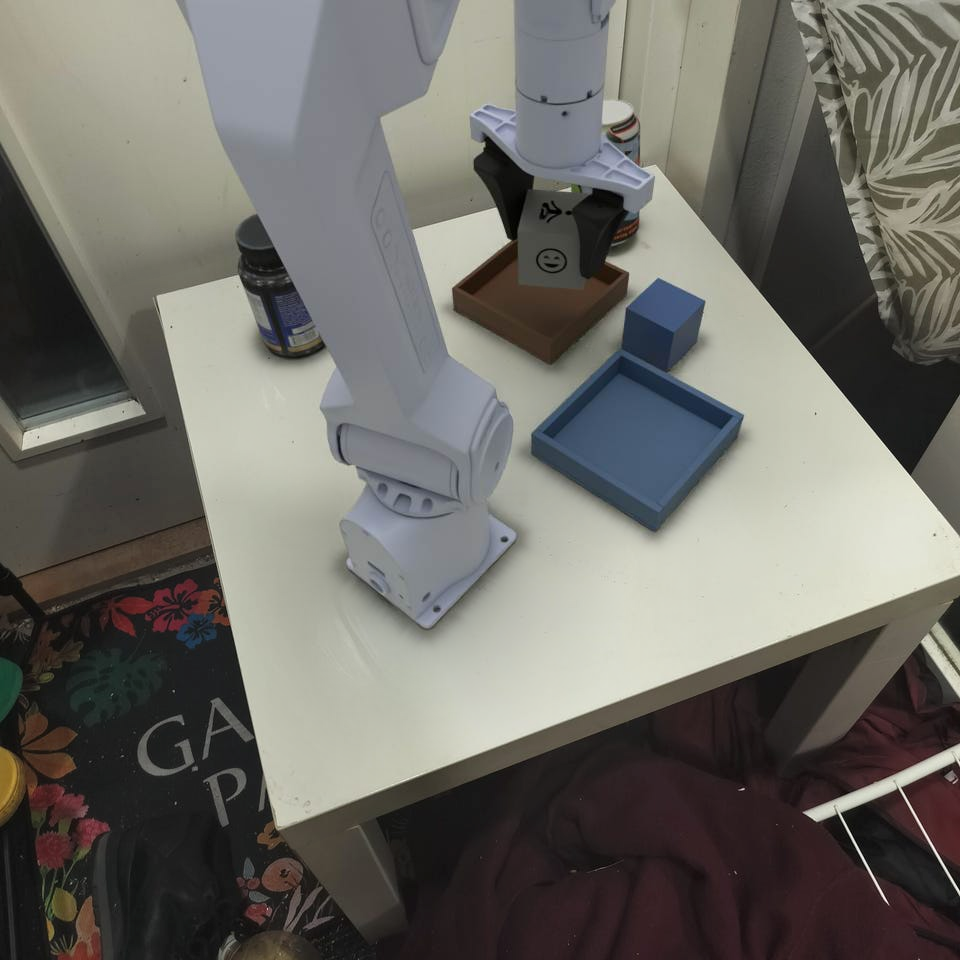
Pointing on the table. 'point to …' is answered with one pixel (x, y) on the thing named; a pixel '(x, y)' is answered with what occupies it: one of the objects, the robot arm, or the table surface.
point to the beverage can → (624, 136)
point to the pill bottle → (273, 294)
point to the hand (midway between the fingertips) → (555, 252)
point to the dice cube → (549, 240)
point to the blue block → (662, 324)
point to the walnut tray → (536, 304)
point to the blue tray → (636, 437)
